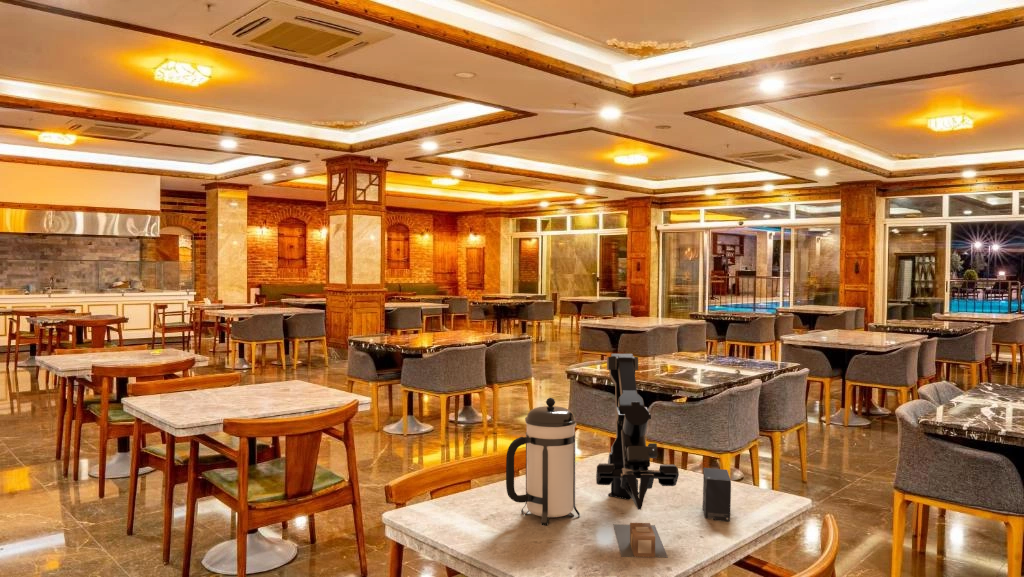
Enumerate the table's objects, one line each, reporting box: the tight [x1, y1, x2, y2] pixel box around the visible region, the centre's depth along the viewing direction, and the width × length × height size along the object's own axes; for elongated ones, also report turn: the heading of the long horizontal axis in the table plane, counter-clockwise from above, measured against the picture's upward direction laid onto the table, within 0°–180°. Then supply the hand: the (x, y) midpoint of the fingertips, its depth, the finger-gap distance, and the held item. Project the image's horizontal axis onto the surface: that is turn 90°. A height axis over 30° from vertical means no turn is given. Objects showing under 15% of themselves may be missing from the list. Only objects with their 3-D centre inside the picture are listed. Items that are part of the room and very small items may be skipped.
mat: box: [613, 523, 669, 559], centre depth 162 cm, size 20×10×1 cm, turn 177°
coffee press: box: [505, 397, 581, 527], centre depth 178 cm, size 17×16×30 cm
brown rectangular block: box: [629, 522, 655, 558], centre depth 156 cm, size 5×5×8 cm
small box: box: [701, 467, 732, 522], centre depth 181 cm, size 11×6×10 cm, turn 168°
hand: (639, 508), depth 161 cm, fingers closed
